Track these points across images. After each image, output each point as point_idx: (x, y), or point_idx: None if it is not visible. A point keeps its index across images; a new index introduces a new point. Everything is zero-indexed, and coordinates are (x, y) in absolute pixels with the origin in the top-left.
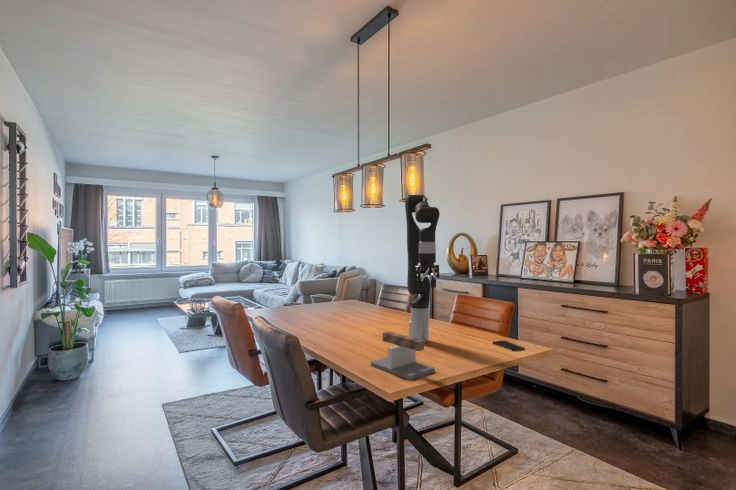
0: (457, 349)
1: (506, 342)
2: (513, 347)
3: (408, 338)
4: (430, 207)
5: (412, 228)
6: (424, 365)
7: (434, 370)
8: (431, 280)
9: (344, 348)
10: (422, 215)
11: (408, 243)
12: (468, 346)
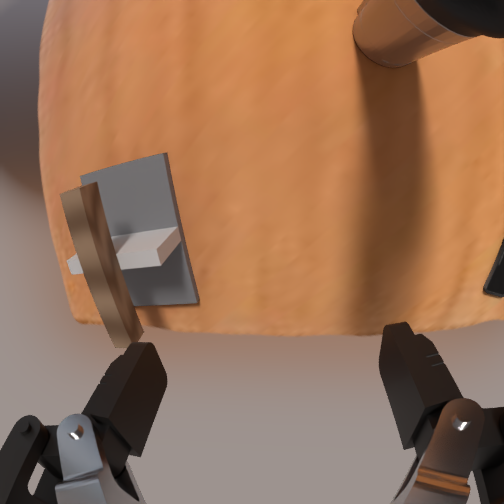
0: (414, 191)
1: None
2: (500, 278)
3: (102, 306)
4: None
5: None
6: (185, 275)
7: (198, 299)
8: (416, 406)
9: (108, 2)
10: None
11: None
12: (459, 192)
